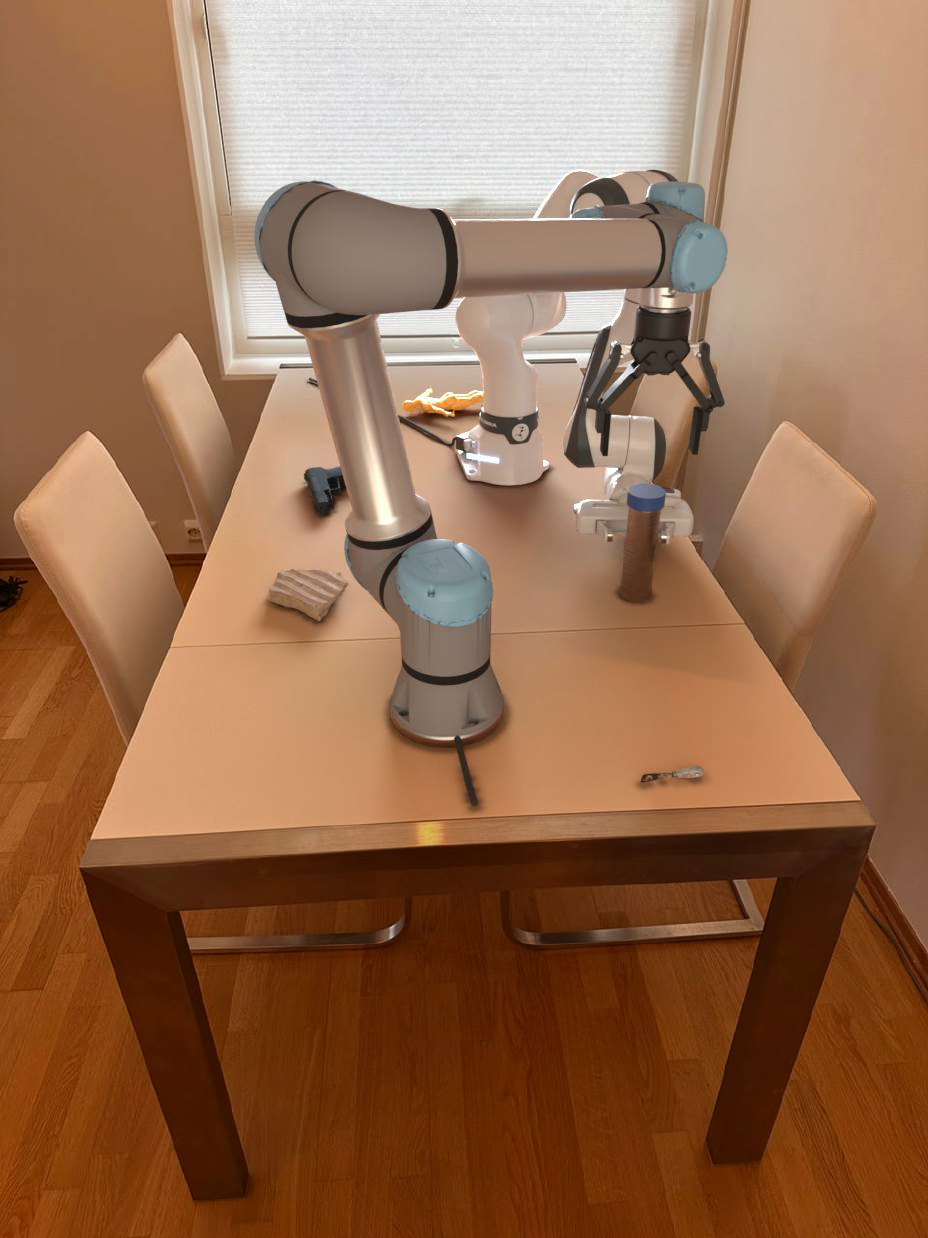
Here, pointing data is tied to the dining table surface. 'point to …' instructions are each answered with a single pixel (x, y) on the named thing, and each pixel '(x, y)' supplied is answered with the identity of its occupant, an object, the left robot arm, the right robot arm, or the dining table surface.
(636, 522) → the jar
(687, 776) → the putty knife
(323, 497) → the handgun
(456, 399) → the human figure
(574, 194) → the right robot arm
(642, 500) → the lid
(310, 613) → the stone
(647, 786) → the dining table surface
